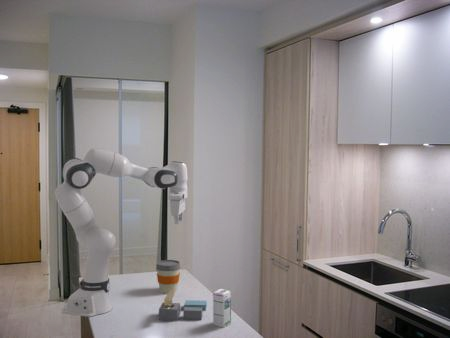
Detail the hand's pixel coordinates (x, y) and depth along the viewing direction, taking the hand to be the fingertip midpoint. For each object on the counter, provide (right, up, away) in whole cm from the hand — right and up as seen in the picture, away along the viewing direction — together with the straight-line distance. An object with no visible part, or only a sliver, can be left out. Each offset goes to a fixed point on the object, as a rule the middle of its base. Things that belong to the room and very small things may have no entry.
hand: (178, 222), depth 224 cm
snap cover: (+9, -40, -8) cm, 42 cm away
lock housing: (+3, -40, -20) cm, 45 cm away
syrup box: (+22, -41, -28) cm, 54 cm away
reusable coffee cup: (-7, -38, +17) cm, 43 cm away
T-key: (-2, -40, -20) cm, 45 cm away
